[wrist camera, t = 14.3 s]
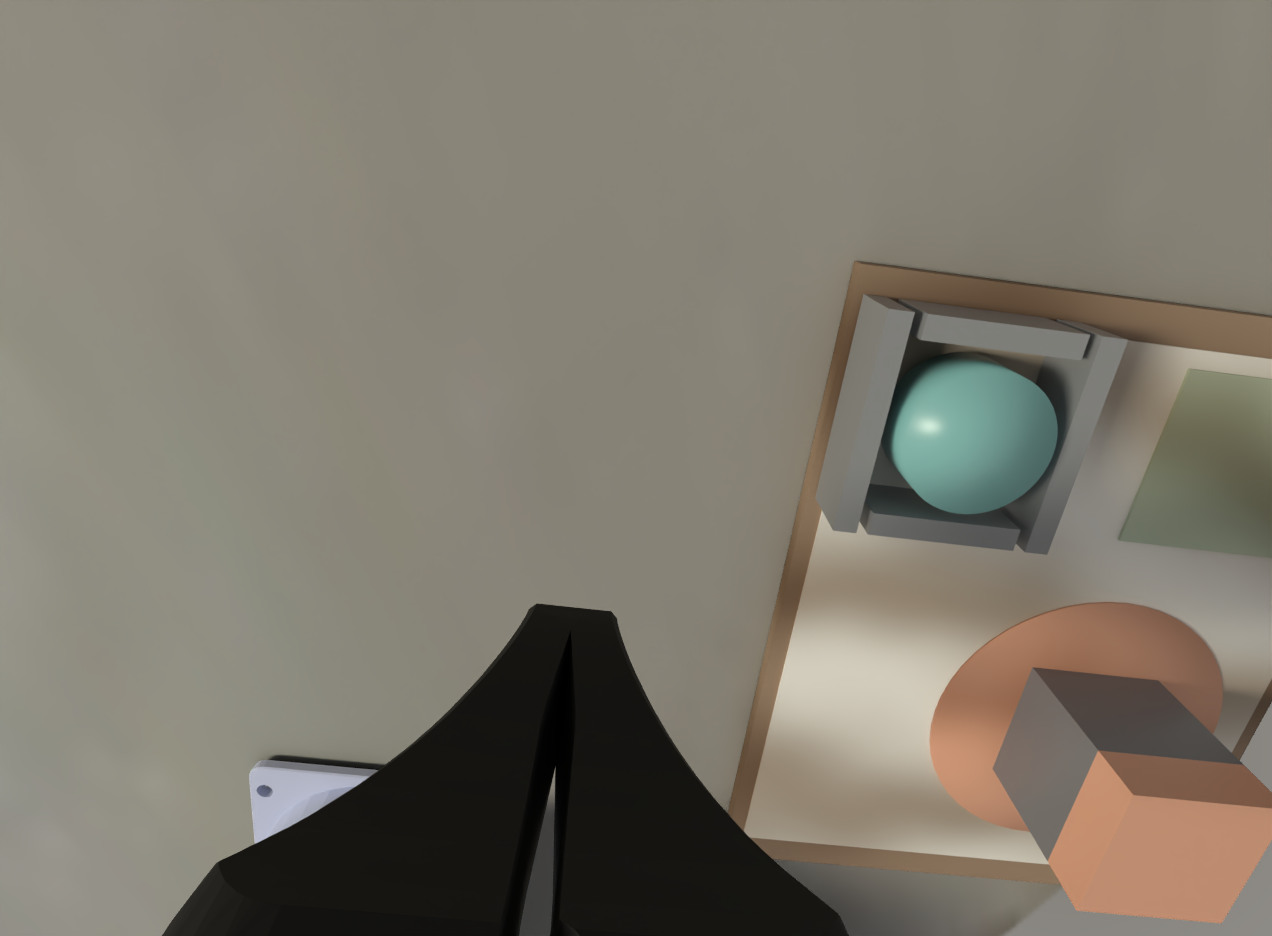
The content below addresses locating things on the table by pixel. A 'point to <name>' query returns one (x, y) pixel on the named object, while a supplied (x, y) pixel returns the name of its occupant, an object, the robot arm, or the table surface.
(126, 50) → the table surface
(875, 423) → the button housing
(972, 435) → the button
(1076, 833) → the salmon block
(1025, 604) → the colouring board
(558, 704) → the robot arm
